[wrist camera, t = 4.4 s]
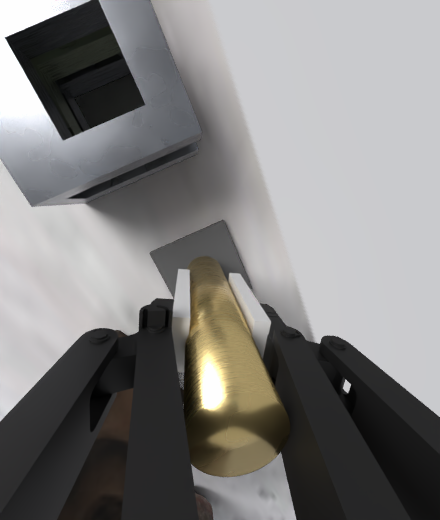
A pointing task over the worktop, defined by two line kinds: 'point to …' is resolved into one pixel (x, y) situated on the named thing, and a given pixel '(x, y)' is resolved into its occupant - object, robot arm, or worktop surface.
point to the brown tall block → (203, 508)
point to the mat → (198, 254)
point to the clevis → (77, 83)
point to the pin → (227, 383)
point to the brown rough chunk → (104, 467)
